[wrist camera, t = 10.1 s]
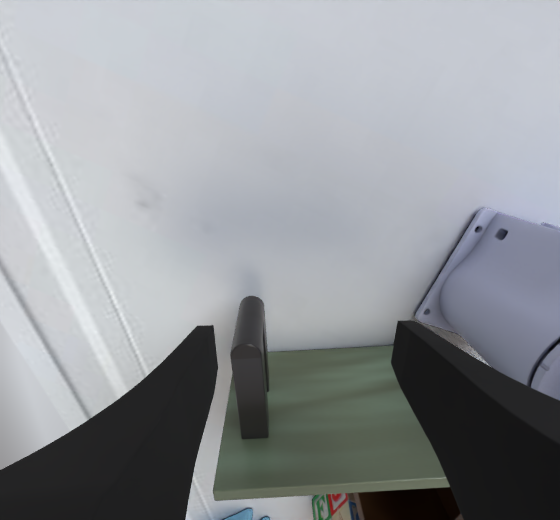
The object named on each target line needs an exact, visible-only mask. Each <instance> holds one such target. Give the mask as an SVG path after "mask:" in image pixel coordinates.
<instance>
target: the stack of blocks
mask: <svg viewBox="0 0 560 520" xmlns="http://www.w3.org/2000/svg"><path fill="white" fill-rule="evenodd" d="M312 507H313V518H314V520H360V519H359V515H358V511H357V507H356V502H355V498H354V494H353V493H340V494H323V495H316V496H315V497H314V498H313V499H312Z"/></svg>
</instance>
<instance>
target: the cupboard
mask: <svg viewBox="0 0 560 520" xmlns="http://www.w3.org/2000/svg"><path fill="white" fill-rule="evenodd" d="M353 494H354V498H355V502H356V507H357V511H358V515H359V519H360V520H463V517H462V515H461V512H460V510H459V507H458V505H457V502H456V500H455V497H454V495H453V492H452V490H451V488H450V487H443V488H426V489H409V490H391V491H374V492H357V493H353Z"/></svg>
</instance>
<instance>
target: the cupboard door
mask: <svg viewBox="0 0 560 520" xmlns="http://www.w3.org/2000/svg"><path fill="white" fill-rule="evenodd" d="M393 346H394V345H393ZM393 346H375V347H356V348H337V349H319V350H300V351H281V352H267V339H266V325H265V311H264V303H263V302H262V300H261V299H260V298H258V297H256V296H248V297H246V298H244V299H243V300H242V301H241V303H240V308H239V313H238V318H237V323H236V329H235V334H234V339H233V344H232V349H231V363H232V371H233V374H232V380H231V386H230V392H229V398H228V404H227V410H226V416H225V422H224V427H223V433H222V439H221V445H220V451H219V457H218V463H217V469H216V475H215V481H214V487H213V494H214V499H215V501H220V500H237V499H254V498H271V497H289V496H306V495H323V494H340V493H357V492H374V491H391V490H409V489H426V488H443V487H450V485H449V483H448V481H447V478H446V476H445V474H444V471H443V469H442V467H441V464H440V462H439V460H438V457H437V455H436V453H435V451H434V449H433V447H432V445H431V443H430V442H429V440H428V438H427V436H426V434H425V432H424V431H423V429H422V427H421V425H420V423H419V421H418V420H417V418H416V416H415V414H414V412H413V410H412V409H411V407H410V405H409V403H408V401H407V399H406V397H405V395H404V394H403V392H402V390H401V388H400V386H399V383H398V381H397V378H396V376H395V373H394V370H393V367H392V365H391V358H392V352H393Z"/></svg>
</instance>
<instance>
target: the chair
mask: <svg viewBox="0 0 560 520" xmlns="http://www.w3.org/2000/svg"><path fill="white" fill-rule="evenodd" d="M252 513H253V511H252V509H246V510H244V511H242V512H240V513H238V514H236V515H233V516H231V517H229V518H226V519H224V520H252ZM261 520H270V518H269V517H264V518H263V519H261Z"/></svg>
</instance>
